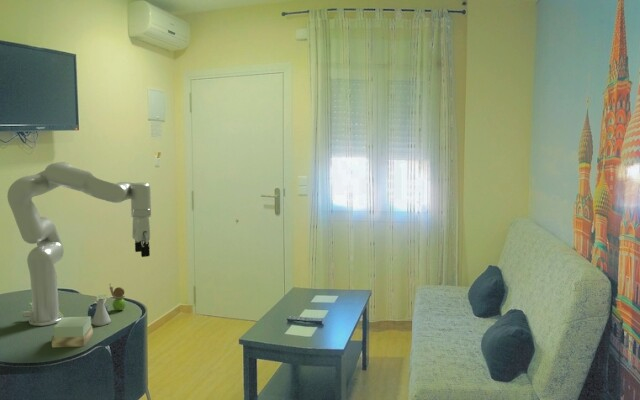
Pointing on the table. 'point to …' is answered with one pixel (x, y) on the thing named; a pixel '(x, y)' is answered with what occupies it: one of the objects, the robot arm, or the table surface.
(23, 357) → the table surface
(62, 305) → the table surface
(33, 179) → the robot arm
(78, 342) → the tower base block
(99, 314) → the flask
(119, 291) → the snail figurine
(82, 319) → the tower top block
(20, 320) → the table surface
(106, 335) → the table surface
